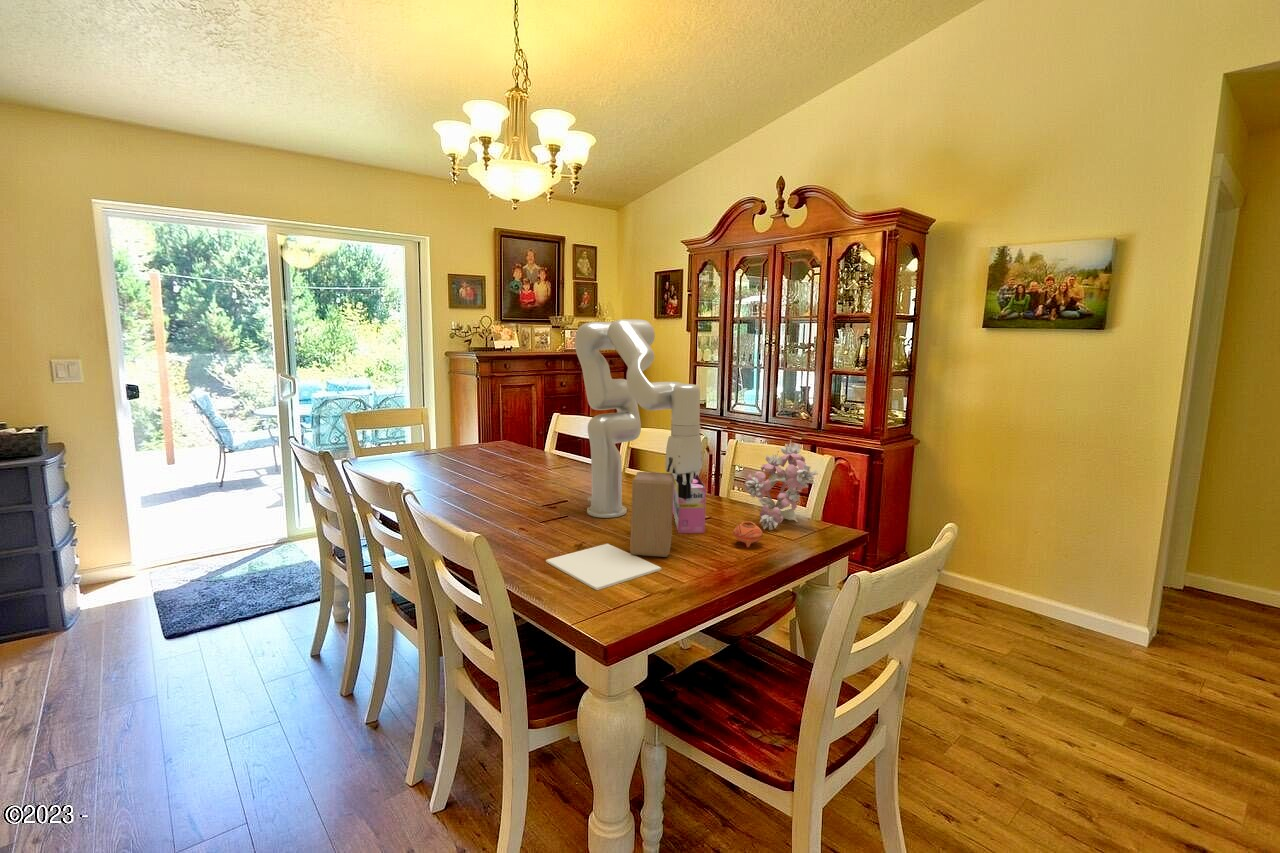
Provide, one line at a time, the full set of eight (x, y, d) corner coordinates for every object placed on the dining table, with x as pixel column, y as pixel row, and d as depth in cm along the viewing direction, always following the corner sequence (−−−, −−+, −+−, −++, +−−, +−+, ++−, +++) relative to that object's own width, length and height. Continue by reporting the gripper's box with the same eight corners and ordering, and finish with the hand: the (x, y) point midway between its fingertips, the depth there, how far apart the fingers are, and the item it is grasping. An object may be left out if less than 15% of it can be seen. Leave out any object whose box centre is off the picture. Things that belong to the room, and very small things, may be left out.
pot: (751, 536, 171) (755, 515, 169) (765, 551, 164) (770, 529, 162) (725, 538, 168) (729, 517, 166) (739, 554, 162) (743, 532, 159)
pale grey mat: (545, 562, 153) (545, 559, 152) (607, 545, 164) (607, 543, 164) (596, 590, 136) (596, 587, 136) (661, 569, 148) (661, 567, 147)
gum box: (671, 509, 198) (671, 468, 196) (695, 509, 199) (695, 468, 197) (678, 533, 175) (678, 487, 173) (705, 533, 175) (706, 487, 173)
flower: (719, 509, 193) (733, 445, 179) (779, 494, 202) (796, 433, 188) (753, 553, 178) (771, 488, 164) (816, 536, 187) (838, 472, 173)
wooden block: (670, 546, 164) (674, 472, 162) (668, 558, 154) (672, 480, 152) (633, 543, 165) (636, 470, 163) (629, 555, 155) (632, 478, 153)
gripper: (695, 426, 170) (694, 490, 173) (654, 431, 161) (654, 499, 163) (715, 429, 164) (713, 496, 167) (674, 435, 155) (673, 505, 158)
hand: (684, 497), depth 165 cm, fingers closed
